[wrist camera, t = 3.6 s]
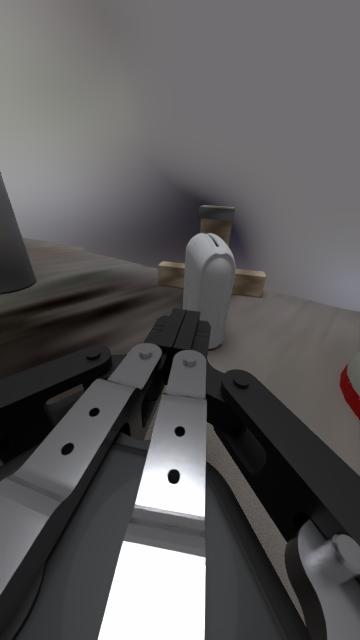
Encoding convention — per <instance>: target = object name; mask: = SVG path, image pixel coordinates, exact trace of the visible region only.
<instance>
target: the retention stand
mask: <svg viewBox="0 0 360 640" xmlns="http://www.w3.org/2000/svg"><path fill="white" fill-rule="evenodd" d="M234 210H235V208H234V207H223V206H207V205H204V206H201V207H200V210H199V218H200V219H201V229H200V230H201V231H200V233H204V234H208V233H212V234H215V235H217V236H219V237H220V238H221V239H222V240H223V241H224V242H225V243H226V244H227V246H228V243H229V236H230V231H231V224H232V221H233V217H234ZM184 275H185V264H182V263H173V262H161V263H160V264H159V265H158V284H159V285H162V286H171V287H179V288H184ZM265 280H266V275H265V274H264V272H261V271H251V270H241V269H236V271H235V277H234V282H233V288H232V293H231V294H237V295H245V296H254V297H261V295H262V291H263V287H264V283H265Z"/></svg>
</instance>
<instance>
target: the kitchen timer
mask: <svg viewBox="0 0 360 640" xmlns="http://www.w3.org/2000/svg"><path fill="white" fill-rule="evenodd" d="M340 387H341V390H342V392H343V395H344V398H345V400H346V402H347V403H348V404H349V406H350V407H351V409H352V410H353V411H354V413H355V414H356V416H357V417H358V418H359V420H360V350H359V351H358V352H357V353H356V355H355V356H354V357H353V358H352V359H351V360H350V361H349V362H348V364H347V365H346V367H345V368H344V370H343V372H342V373H341V379H340Z"/></svg>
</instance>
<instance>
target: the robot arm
mask: <svg viewBox="0 0 360 640" xmlns="http://www.w3.org/2000/svg"><path fill="white" fill-rule="evenodd" d="M0 174H1V173H0ZM35 281H36V278H35V275H34V272H33V269H32V266H31V263H30V260H29V257H28V254H27V251H26V248H25V245H24V242H23V239H22V236H21V233H20V230H19V227H18V224H17V221H16V218H15V215H14V212H13V209H12V206H11V203H10V200H9V197H8V194H7V191H6V188H5V185H4V182H3V179H2V176H1V175H0V293H4V292H10V291H15V290H19V289H22V288H25V287H28V286H30V285H32V284H33V283H34V282H35ZM210 333H211V326H210V324H209V322H208V321H201V320H200V312H198V311H191V310H183V309H175V308H174V309H173V311H172V313H171V315H170V316H162V317H161V318H159V319H158V320H157V321H156V323H155V325H154V326H153V328H152V330H151V331H150V333H149V335H148V336H147V338H146V340H145V341H144V343H143V344H139V345H136V346H135V347H133V348H132V349H131V350H130V352H129V353H128V354H125V355H111V352H110V350H109V349H108V348H107V347H105V346H91V347H88V348H85V349H82V350H80V351H77V352H74V353H72V354H69V355H66V356H63V357H61V358H58V359H55V360H53V361H50V362H47V363H45V364H42V365H39V366H37V367H34V368H31V369H29V370H26V371H23V372H20V373H18V374H15V375H12V376H10V377H7V378H4V379H2V380H0V640H360V476H359V475H358V474H357V473H356V472H355V471H353V470H352V469H351V468H350V467H349V466H348V465H347V464H346V463H345V462H344V461H343V460H342V459H341V458H340V457H339V456H338V455H337V454H336V453H334V452H333V451H332V450H331V449H330V448H329V447H328V446H327V445H326V444H325V443H324V442H323V441H322V440H321V439H320V438H319V437H318V436H317V435H315V434H314V433H313V432H312V431H311V430H310V429H309V428H308V427H307V426H306V425H305V424H304V423H303V422H302V421H301V420H300V419H299V418H298V417H296V416H295V415H294V414H293V413H292V412H291V411H290V410H289V409H288V408H287V407H286V406H285V405H284V404H283V403H282V402H281V401H280V400H279V399H277V398H276V397H275V396H274V395H273V394H272V393H271V392H270V391H269V390H268V389H267V388H266V387H265V386H264V385H263V384H262V383H261V382H260V381H258V380H257V379H256V378H255V377H254V376H253V375H252V374H250V373H248V372H246V371H243V370H230V371H227V372H226V373H225V374H224V373H222V372H220V371H218V370H216V369H214V368H213V367H212V366H211V365H210V364H209V362H208V360H207V354H208V347H209V340H210ZM80 384H82V385H83V388H84V389H83V390H81V391H79V392H77V393H75V394H73V395H71V396H69V397H67V398H65V399H62V400H60V401H58V402H56V403H54V404H50V405H48V404H45V403H46V402H47V401H48V400H49V399H50V398H52V397H54V396H56V395H58V394H60V393H63V392H65V391H67V390H69V389H71V388H73V387H76V386H78V385H80ZM165 385H167V389H166V392H165V393H163V395H162V391H163V388H164V386H165ZM160 400H161V402H160ZM159 403H160V406H159V410H158V414H157V418H156V422H155V426H154V430H153V434H152V438H151V440H144V439H145V435H146V433H147V430H148V428H149V426H150V423H151V421H152V419H153V416H154V414H155V412H156V410H157V407H158V405H159ZM206 421H207V422H208V423H210V424H212V425H213V427H214V430H215V432H216V434H217V436H218V437H219V439H220V440H221V442H222V443H223V445H224V446H225V448H226V449H227V451H228V452H229V454H230V456H231V457H232V459H233V460H234V462H235V463H236V465H237V466H238V468H239V469H240V471H241V472H242V474H243V476H244V477H245V479H246V480H247V482H248V483H249V485H250V486H251V488H252V489H253V491H254V492H255V494H256V496H257V497H258V499H259V500H260V502H261V503H262V505H263V506H264V508H265V509H266V511H267V512H268V514H269V516H270V517H271V519H272V520H273V522H274V523H275V525H276V526H277V528H278V529H279V531H280V532H281V534H282V536H283V537H284V539H285V540H286V542H287V545H286V548H285V555H284V556H285V566H286V571H287V575H288V578H289V580H290V583H291V585H292V587H293V589H294V592H295V594H296V596H297V598H298V600H299V603H300V605H301V608H302V611H303V615H304V618H305V624H306V626H305V624H304V623H303V621H302V619H301V617H300V615H299V613H298V611H297V610H296V608H295V606H294V604H293V602H292V600H291V599H290V597H289V595H288V593H287V591H286V589H285V588H284V586H283V584H282V582H281V580H280V578H279V577H278V575H277V573H276V571H275V569H274V567H273V565H272V564H271V562H270V560H269V558H268V556H267V554H266V553H265V551H264V549H263V547H262V545H261V543H260V542H259V540H258V538H257V536H256V534H255V532H254V530H253V529H252V527H251V525H250V523H249V521H248V519H247V518H246V516H245V514H244V512H243V510H242V508H241V507H240V505H239V503H238V501H237V499H236V497H235V495H234V494H233V492H232V490H231V488H230V487H229V485H228V484H227V482H226V481H225V479H224V478H223V477H222V475H221V474H220V473H219V472H218V471H217V470H216V469H215V468H214V467H213V466H212V465H211V464H209V463H208V462H207V461H206Z"/></svg>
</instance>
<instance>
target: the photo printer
mask: <svg viewBox="0 0 360 640" xmlns="http://www.w3.org/2000/svg"><path fill="white" fill-rule="evenodd" d="M235 271H236V266H235V260H234V257H233V254H232V252H231V250H230V249H229V247H228V246H227V244H226V243H225V242H224V241H223V240H222V239H221V238H220V237H219V236H217V235H215V234H212V233H208V234H204V233H200V234H197V235H196V236H194V237H193V238H192V239H191V240H190V241H189V243H188V245H187V248H186V259H185V275H184V293H183V310H191V311H198V312H200V320H201V321H208V322H209V324H210V326H211V333H210V340H209V347H208V349H213V348H216V347H218V346H219V344H222V342H223V337H224V332H225V326H226V321H227V315H228V310H229V304H230V298H231V293H232V288H233V282H234V277H235Z"/></svg>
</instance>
